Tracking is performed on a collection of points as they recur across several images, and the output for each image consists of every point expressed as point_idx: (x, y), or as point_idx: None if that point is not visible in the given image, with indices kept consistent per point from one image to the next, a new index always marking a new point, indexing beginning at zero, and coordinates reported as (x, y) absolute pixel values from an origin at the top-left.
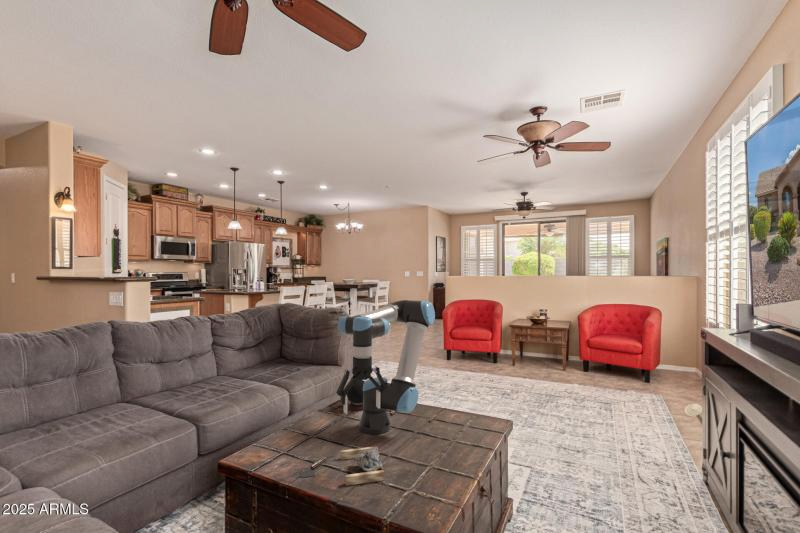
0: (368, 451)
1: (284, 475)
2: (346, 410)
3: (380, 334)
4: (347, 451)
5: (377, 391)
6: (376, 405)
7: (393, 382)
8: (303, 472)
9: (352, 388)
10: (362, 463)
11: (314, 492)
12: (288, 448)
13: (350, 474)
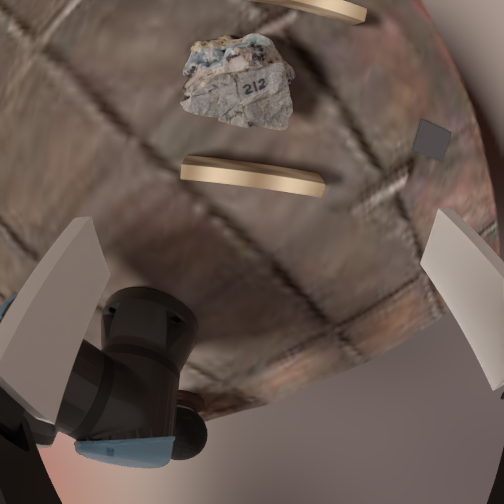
0: (238, 85)
1: (470, 168)
2: (462, 224)
3: None
4: (299, 180)
5: (25, 398)
6: (103, 275)
7: (36, 430)
8: (438, 153)
9: (193, 443)
10: (278, 55)
11: (440, 43)
12: (409, 289)
13: (347, 14)
